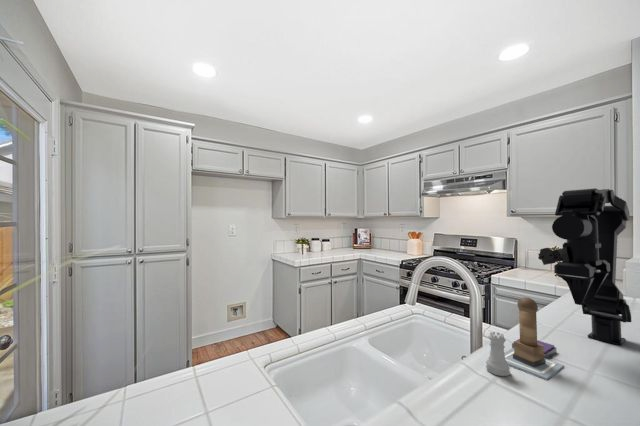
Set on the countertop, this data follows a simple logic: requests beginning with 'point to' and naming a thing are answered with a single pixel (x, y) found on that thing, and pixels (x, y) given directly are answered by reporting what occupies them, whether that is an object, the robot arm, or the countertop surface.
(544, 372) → the marked card
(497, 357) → the rook chess piece
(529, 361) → the wooden ball finial
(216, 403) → the countertop surface
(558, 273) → the robot arm
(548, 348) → the ink pad
